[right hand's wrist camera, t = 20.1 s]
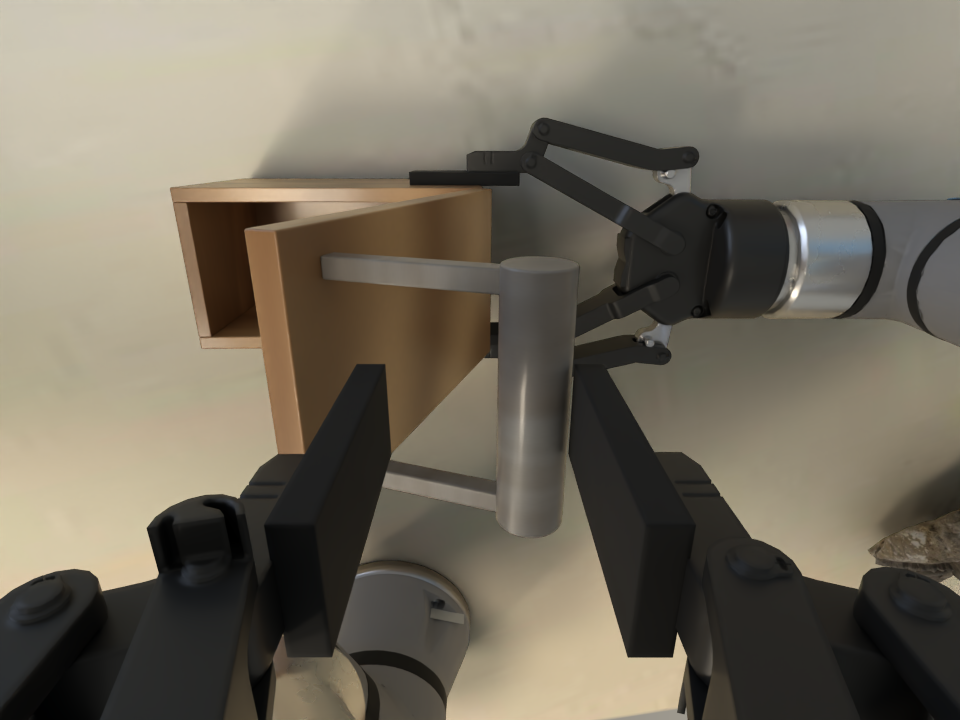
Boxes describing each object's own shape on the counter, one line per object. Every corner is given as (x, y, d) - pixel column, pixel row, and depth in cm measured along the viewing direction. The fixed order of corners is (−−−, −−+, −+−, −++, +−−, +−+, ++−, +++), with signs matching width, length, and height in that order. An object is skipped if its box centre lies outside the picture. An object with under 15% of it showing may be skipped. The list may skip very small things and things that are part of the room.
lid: (288, 526, 17) (544, 592, 15) (242, 228, 14) (565, 246, 11) (474, 349, 33) (615, 366, 30) (474, 188, 29) (632, 192, 27)
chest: (262, 302, 43) (201, 349, 33) (244, 178, 39) (169, 187, 29) (478, 302, 43) (482, 347, 33) (478, 178, 40) (482, 187, 30)
